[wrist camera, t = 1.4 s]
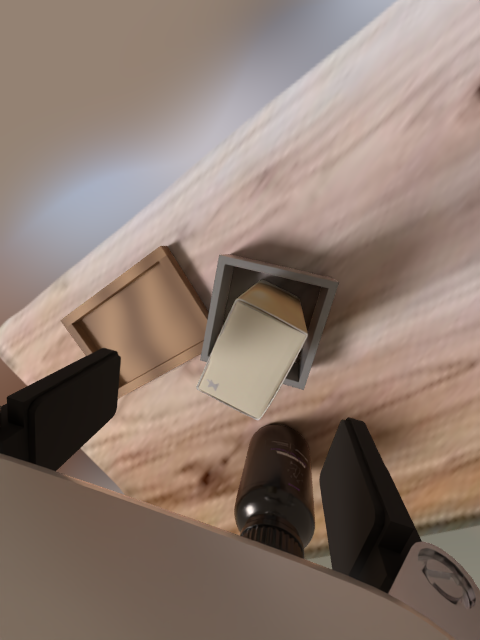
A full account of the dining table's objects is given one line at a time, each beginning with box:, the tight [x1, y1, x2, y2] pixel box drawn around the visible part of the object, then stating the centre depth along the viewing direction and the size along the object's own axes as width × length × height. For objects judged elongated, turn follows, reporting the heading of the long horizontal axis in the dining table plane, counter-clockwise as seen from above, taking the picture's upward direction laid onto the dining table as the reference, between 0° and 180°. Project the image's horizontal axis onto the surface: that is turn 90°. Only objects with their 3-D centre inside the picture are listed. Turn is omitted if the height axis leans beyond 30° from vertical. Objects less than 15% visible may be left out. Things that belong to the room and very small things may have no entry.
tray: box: [60, 246, 220, 398], centre depth 28 cm, size 15×11×1 cm
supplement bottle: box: [234, 425, 315, 559], centre depth 24 cm, size 7×7×12 cm
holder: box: [200, 254, 339, 390], centre depth 24 cm, size 10×10×4 cm
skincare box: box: [196, 280, 308, 420], centre depth 20 cm, size 6×4×12 cm
